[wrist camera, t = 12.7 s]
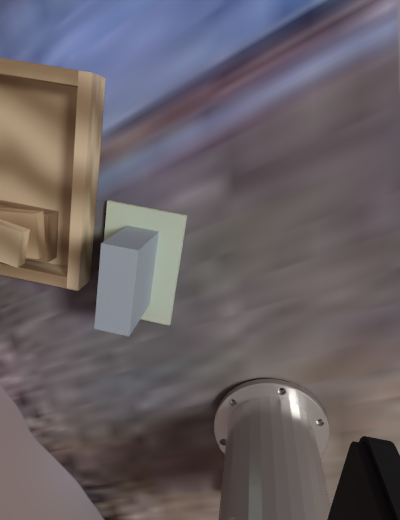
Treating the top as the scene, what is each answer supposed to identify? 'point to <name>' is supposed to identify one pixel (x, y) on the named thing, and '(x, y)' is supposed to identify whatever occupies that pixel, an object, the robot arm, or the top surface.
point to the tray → (52, 160)
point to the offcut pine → (13, 243)
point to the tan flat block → (49, 227)
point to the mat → (166, 255)
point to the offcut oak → (29, 221)
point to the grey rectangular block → (125, 279)
